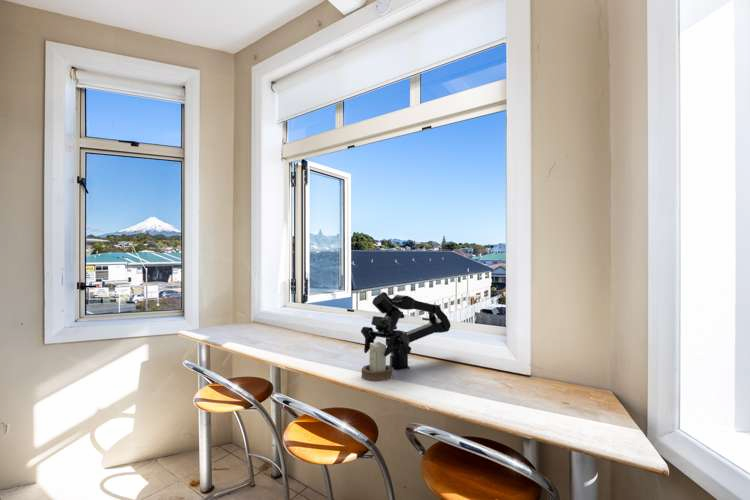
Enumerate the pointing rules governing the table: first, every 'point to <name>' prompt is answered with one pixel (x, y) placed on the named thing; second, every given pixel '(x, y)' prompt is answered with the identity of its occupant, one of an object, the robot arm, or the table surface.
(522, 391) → the table surface
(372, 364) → the skincare box
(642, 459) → the table surface
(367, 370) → the walnut ring
